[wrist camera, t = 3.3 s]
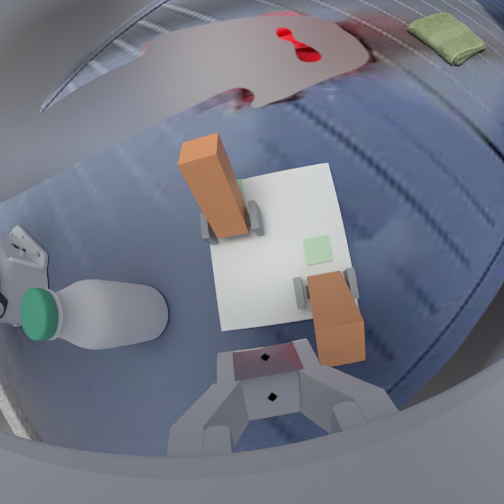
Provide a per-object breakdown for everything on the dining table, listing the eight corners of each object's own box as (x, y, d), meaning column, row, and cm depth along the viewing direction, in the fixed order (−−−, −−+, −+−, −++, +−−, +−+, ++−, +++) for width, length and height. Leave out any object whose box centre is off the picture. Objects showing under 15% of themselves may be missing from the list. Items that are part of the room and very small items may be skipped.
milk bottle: (169, 284, 38) (56, 266, 19) (171, 341, 37) (60, 366, 17) (123, 286, 39) (10, 270, 20) (125, 338, 38) (13, 352, 19)
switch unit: (226, 329, 35) (211, 334, 30) (209, 193, 39) (194, 178, 34) (356, 309, 33) (364, 311, 27) (327, 169, 36) (328, 149, 31)
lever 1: (217, 242, 34) (174, 165, 24) (218, 219, 36) (180, 143, 26) (252, 235, 33) (219, 153, 24) (251, 212, 35) (221, 131, 26)
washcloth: (487, 51, 34) (491, 42, 31) (453, 71, 35) (458, 60, 32) (442, 16, 37) (445, 6, 34) (401, 30, 38) (403, 19, 35)
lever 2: (308, 304, 32) (316, 369, 21) (303, 274, 31) (310, 330, 20) (345, 297, 31) (369, 359, 20) (341, 267, 30) (367, 320, 19)
